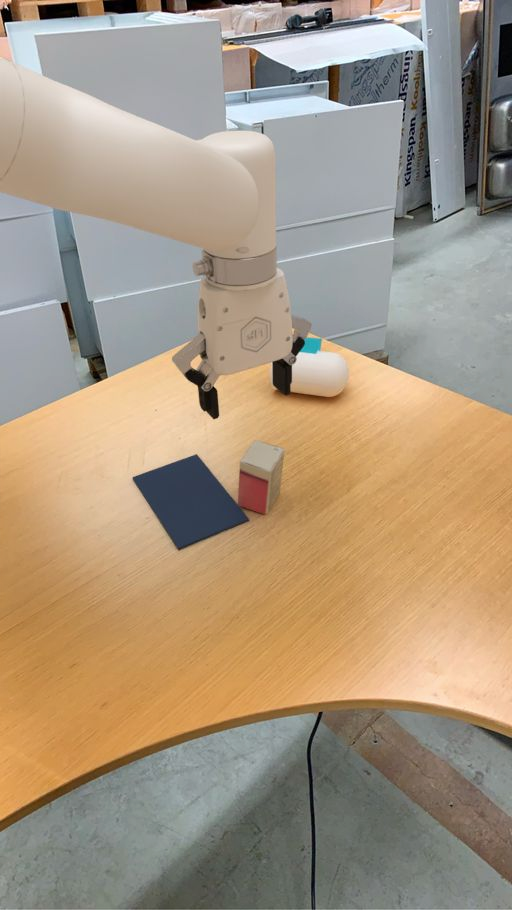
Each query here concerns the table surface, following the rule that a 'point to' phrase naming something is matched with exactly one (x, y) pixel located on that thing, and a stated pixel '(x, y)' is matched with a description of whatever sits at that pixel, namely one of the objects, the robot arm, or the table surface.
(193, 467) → the cloth
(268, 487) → the small box
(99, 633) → the table surface
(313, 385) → the white rounded piece
